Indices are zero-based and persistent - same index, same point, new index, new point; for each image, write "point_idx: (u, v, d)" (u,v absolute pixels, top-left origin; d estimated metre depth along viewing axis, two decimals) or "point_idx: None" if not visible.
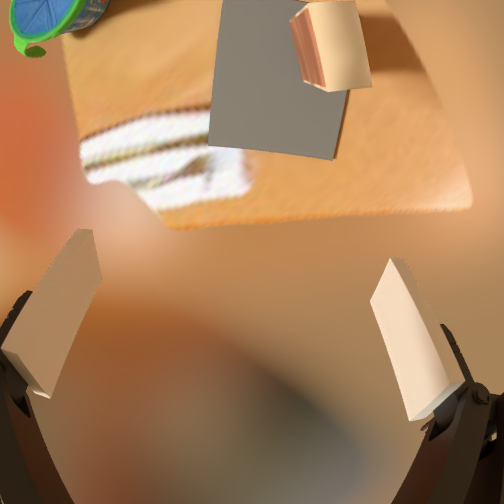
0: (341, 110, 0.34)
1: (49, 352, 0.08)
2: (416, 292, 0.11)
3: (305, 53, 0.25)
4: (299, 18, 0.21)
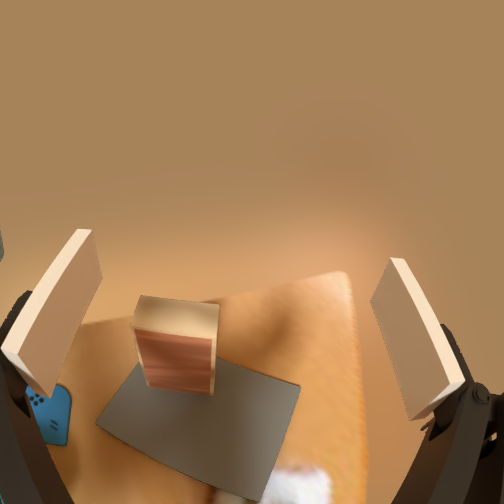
0: (249, 371, 0.37)
1: (49, 352, 0.08)
2: (416, 292, 0.11)
3: (180, 367, 0.29)
4: (144, 355, 0.28)
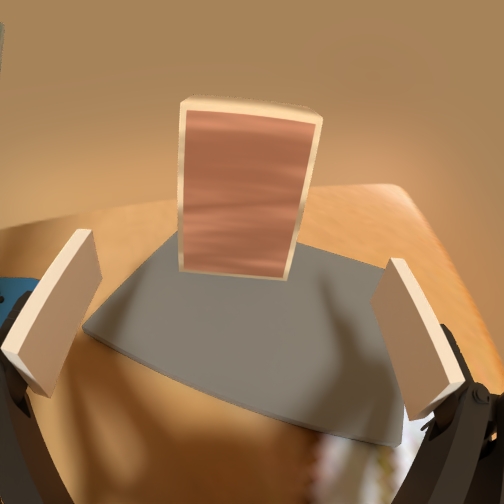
0: (330, 253, 0.26)
1: (49, 352, 0.08)
2: (416, 292, 0.11)
3: (248, 200, 0.19)
4: (189, 177, 0.18)
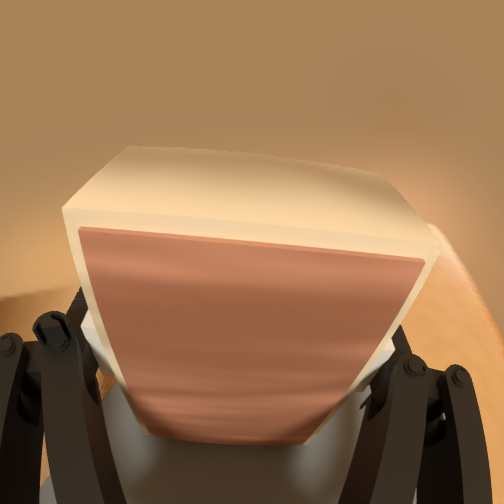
0: None
1: None
2: None
3: (251, 390, 0.09)
4: (125, 355, 0.08)
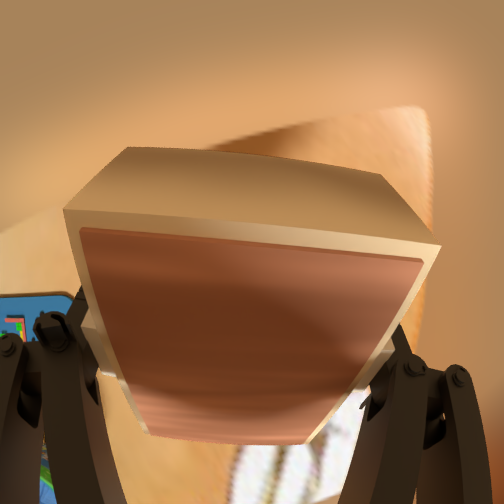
0: None
1: None
2: None
3: (251, 390, 0.09)
4: (126, 355, 0.08)
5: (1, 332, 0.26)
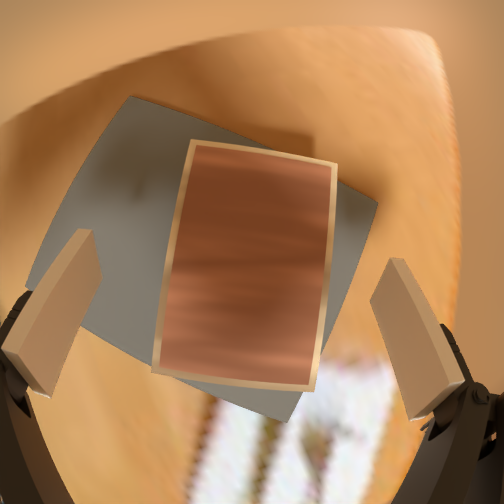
0: None
1: (49, 352, 0.08)
2: (416, 292, 0.11)
3: (260, 257, 0.14)
4: (187, 220, 0.14)
5: None
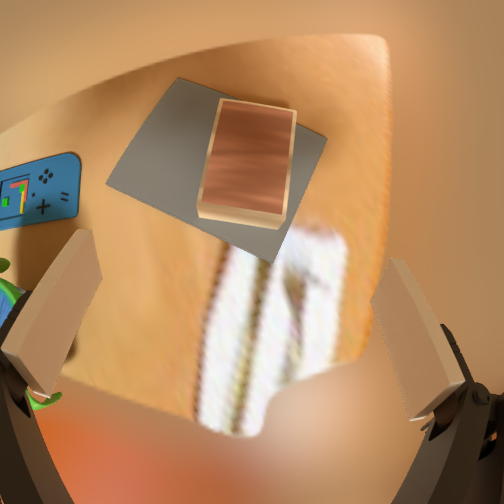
0: None
1: (49, 352, 0.08)
2: (416, 292, 0.11)
3: (255, 150, 0.28)
4: (219, 133, 0.28)
5: (3, 199, 0.29)
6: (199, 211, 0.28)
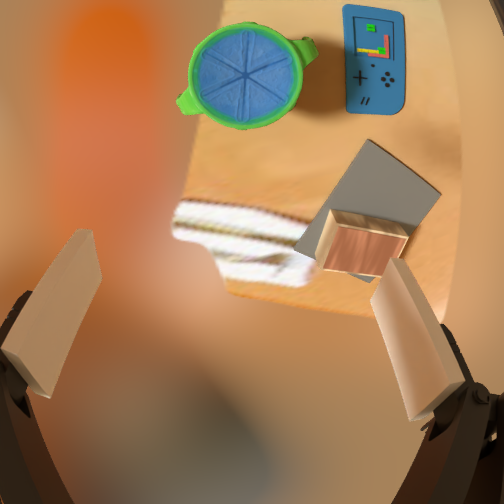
0: None
1: (49, 352, 0.08)
2: (416, 292, 0.11)
3: (366, 256, 0.43)
4: (382, 237, 0.41)
5: (374, 23, 0.27)
6: (333, 218, 0.41)
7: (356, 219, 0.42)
